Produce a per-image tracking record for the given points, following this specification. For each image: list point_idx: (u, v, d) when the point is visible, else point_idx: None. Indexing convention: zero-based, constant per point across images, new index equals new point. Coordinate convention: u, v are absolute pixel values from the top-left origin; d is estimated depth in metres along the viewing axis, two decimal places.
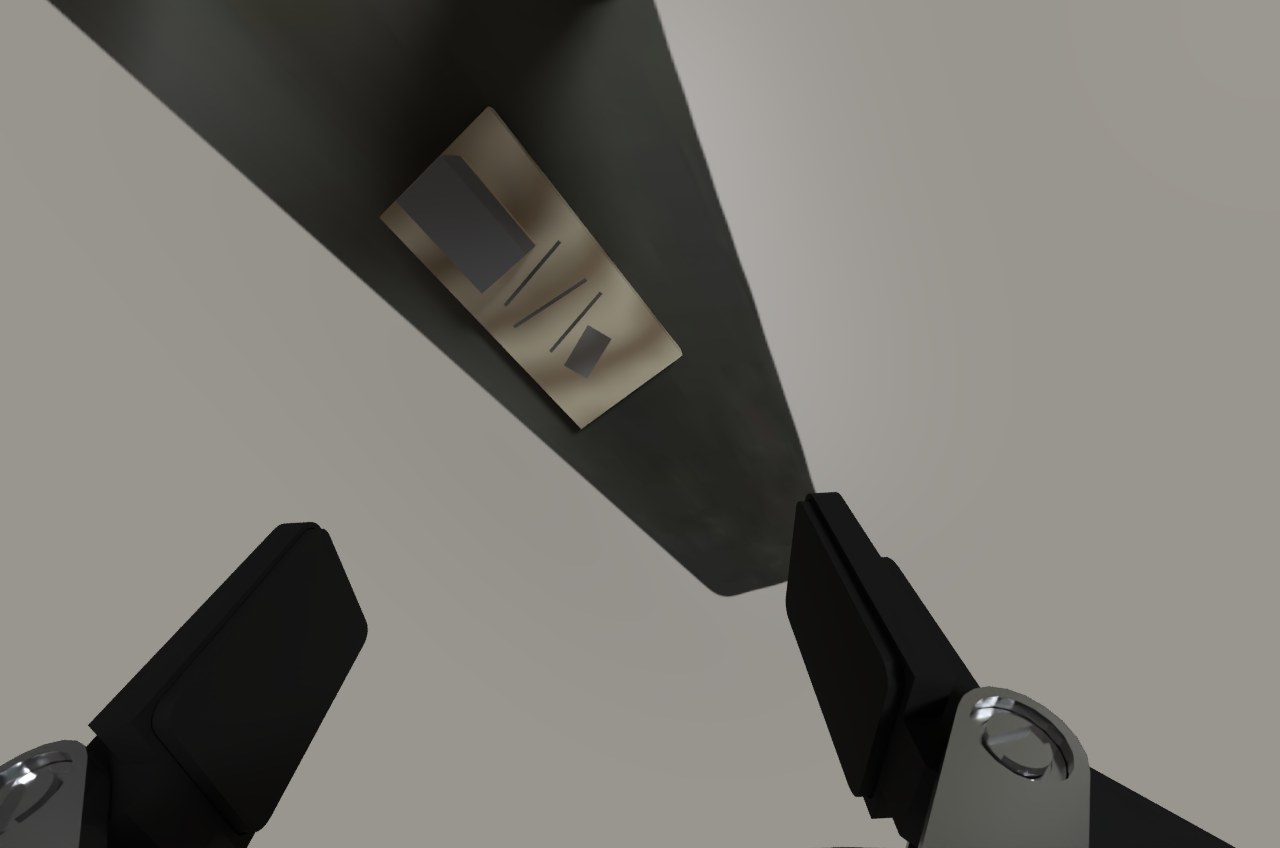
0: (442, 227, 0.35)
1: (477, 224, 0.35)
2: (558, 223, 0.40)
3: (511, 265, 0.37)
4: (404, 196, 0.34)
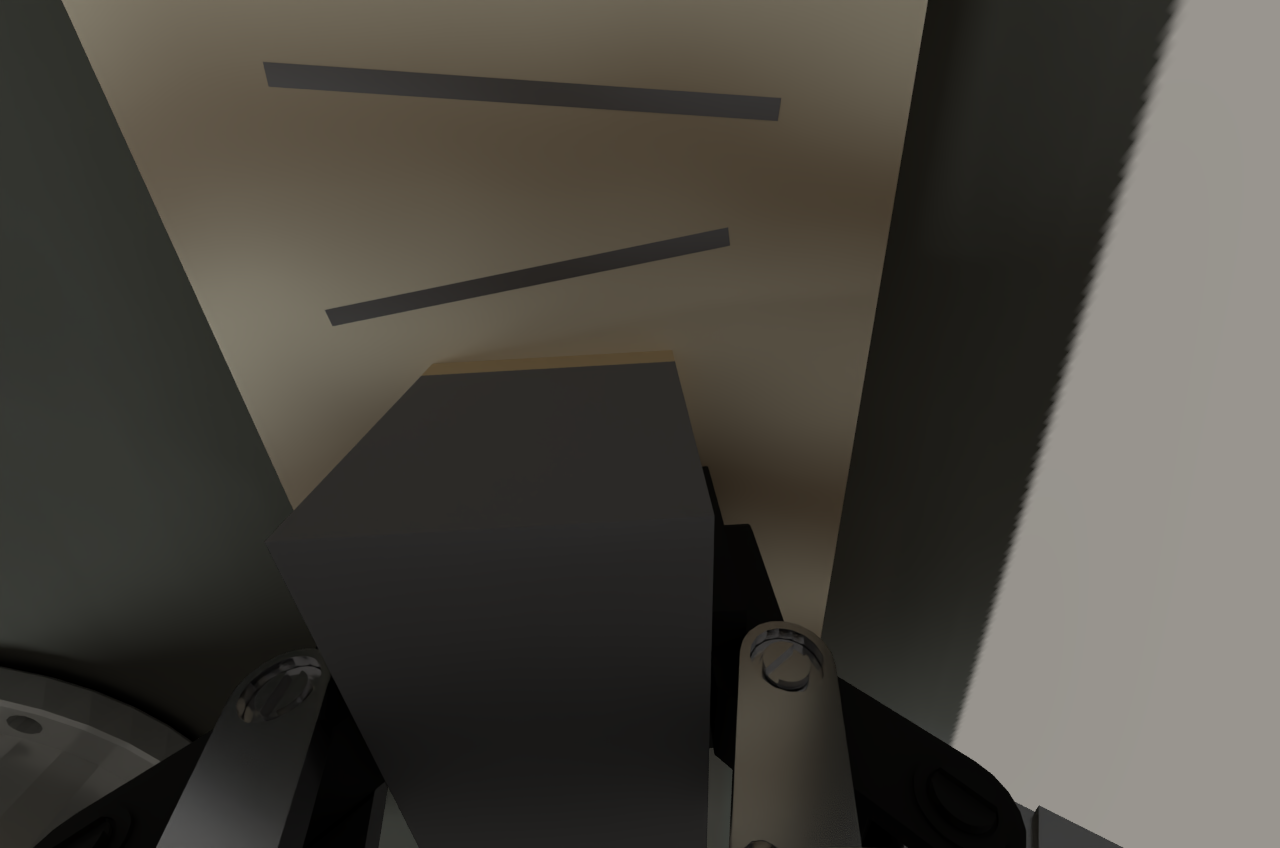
0: (625, 793, 0.07)
1: (460, 744, 0.07)
2: (306, 376, 0.10)
3: (401, 542, 0.05)
4: None
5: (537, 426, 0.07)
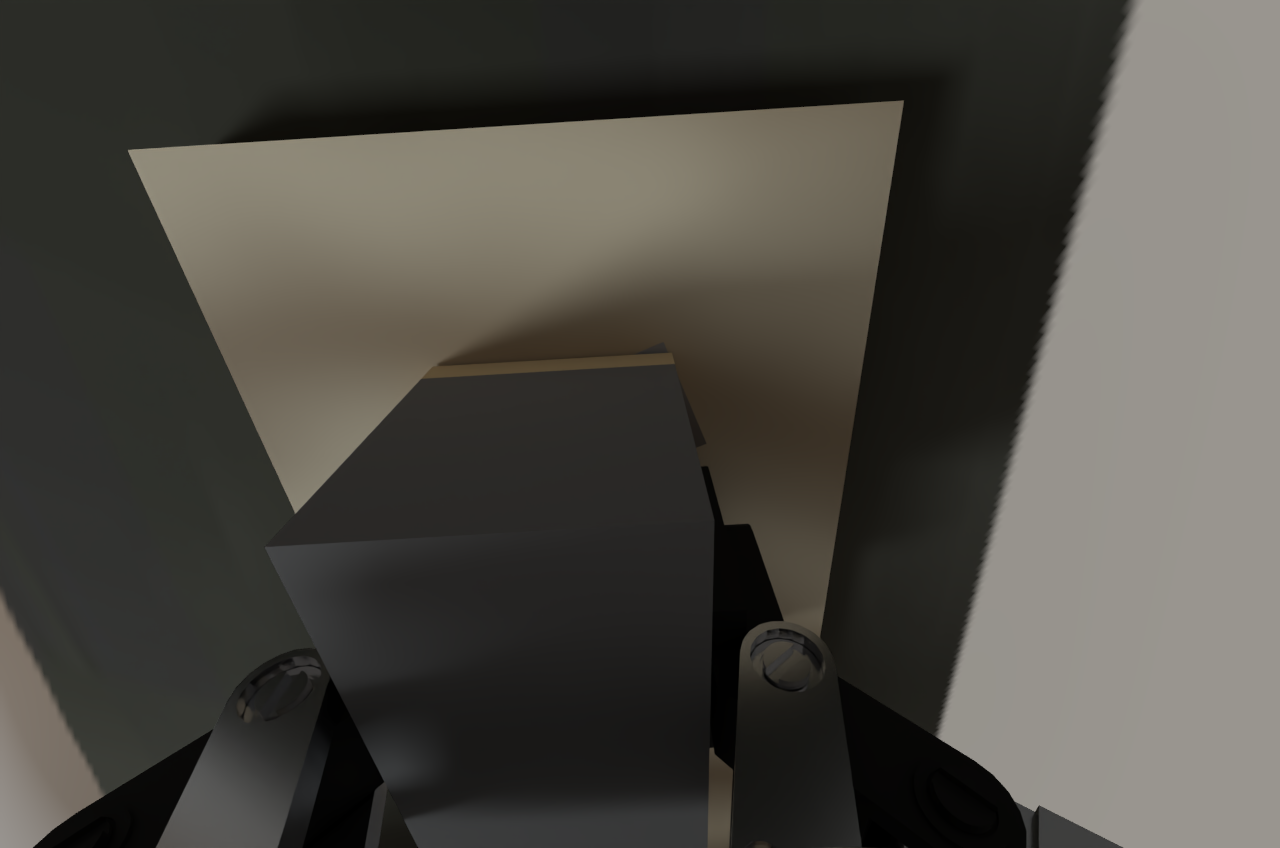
0: (625, 796, 0.07)
1: (460, 748, 0.07)
2: None
3: (401, 547, 0.05)
4: None
5: (538, 430, 0.07)
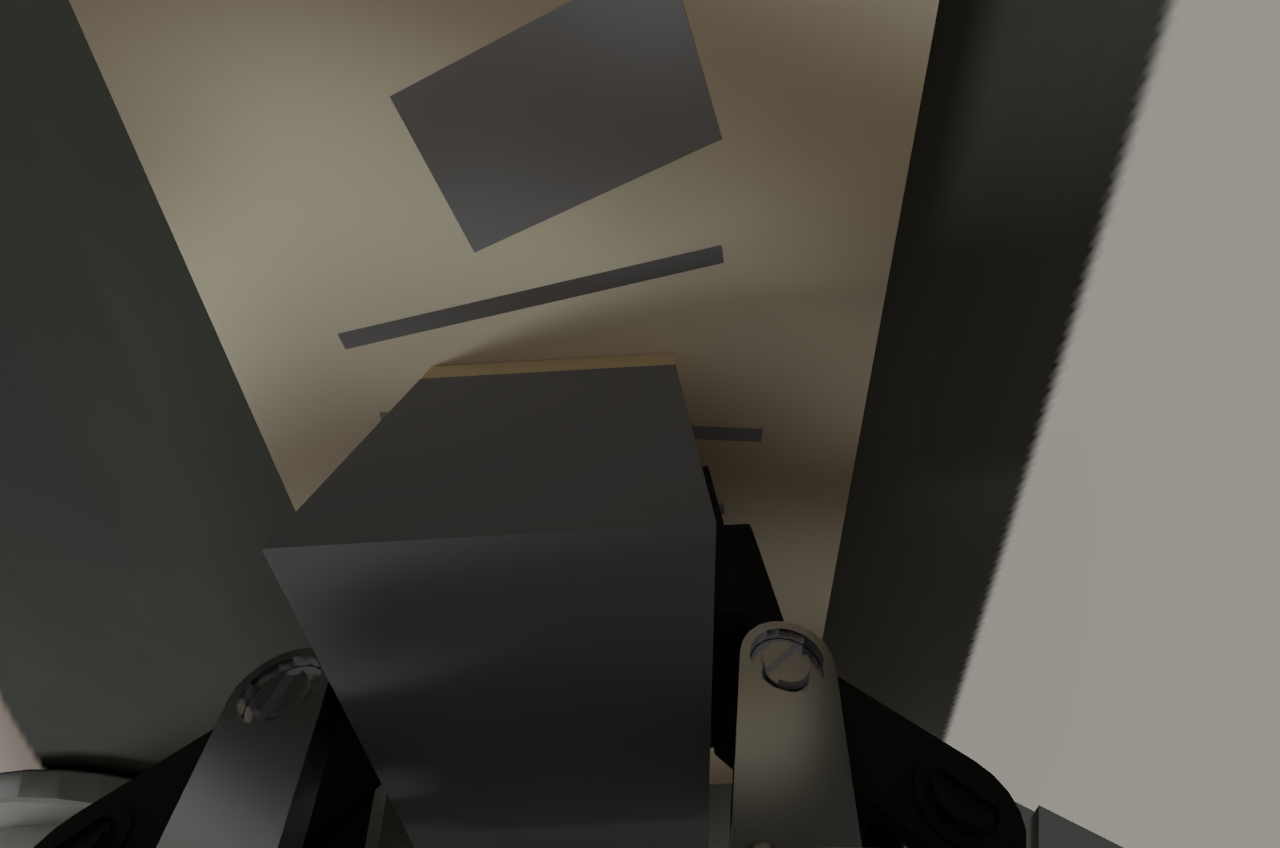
0: (625, 799, 0.07)
1: (460, 751, 0.07)
2: None
3: (399, 549, 0.05)
4: None
5: (538, 431, 0.07)
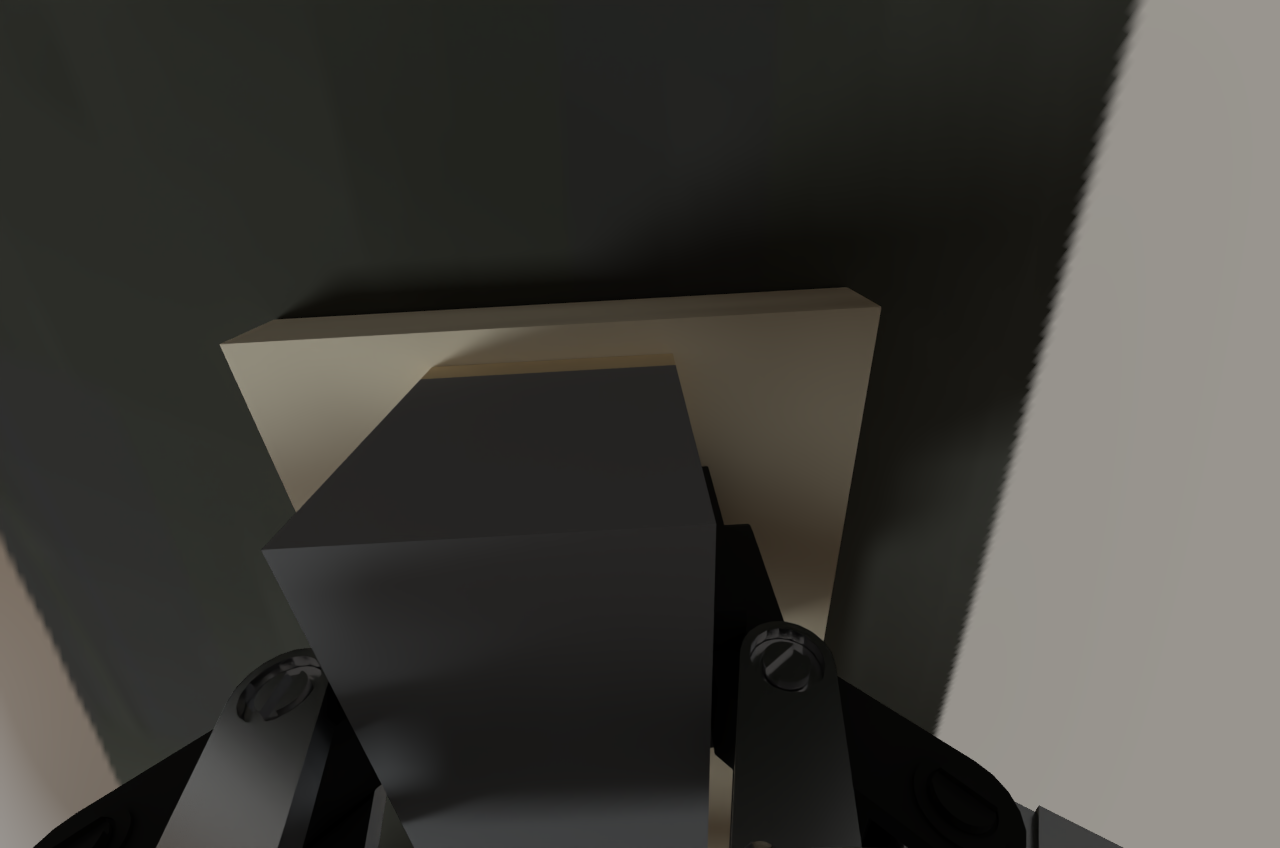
0: (625, 800, 0.07)
1: (460, 752, 0.07)
2: None
3: (399, 550, 0.05)
4: None
5: (538, 432, 0.07)
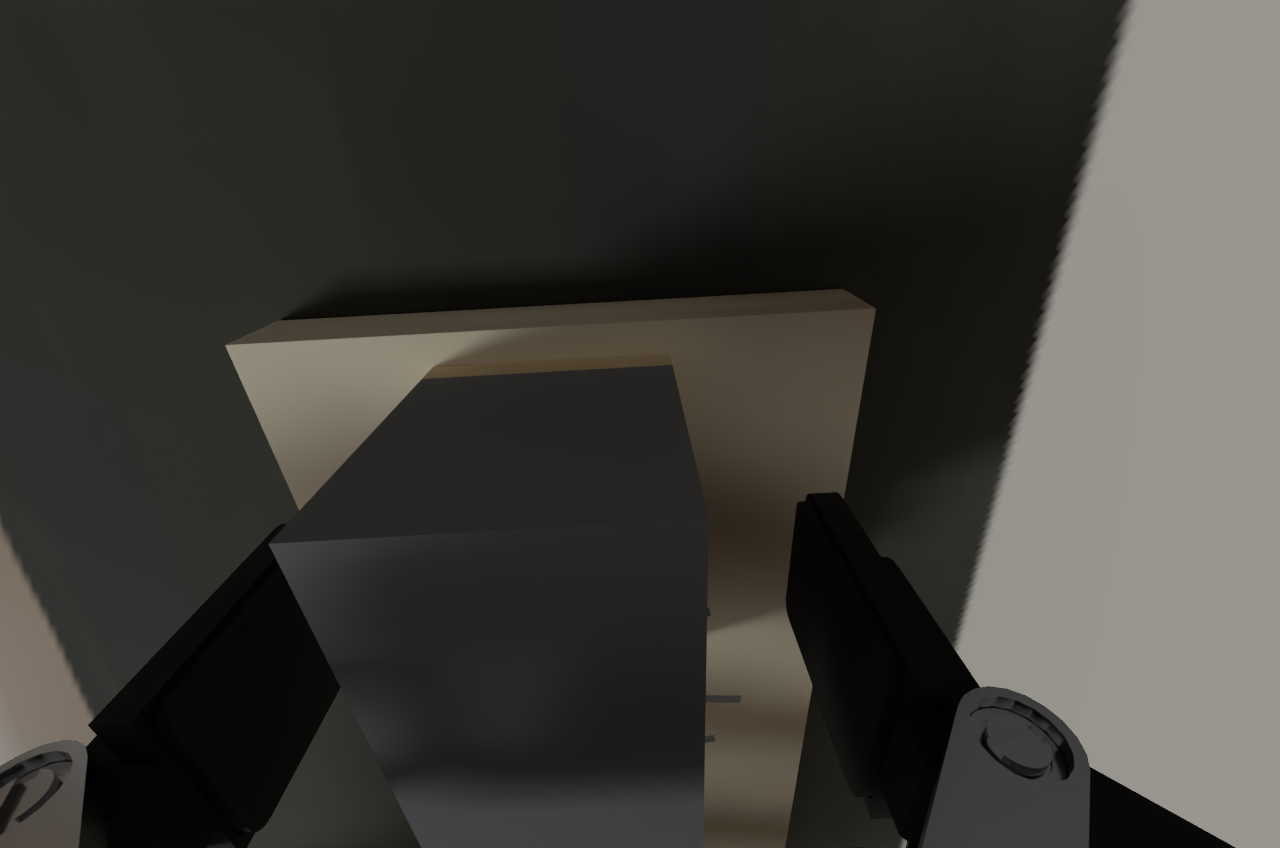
0: (622, 791, 0.07)
1: (460, 742, 0.07)
2: None
3: (402, 544, 0.05)
4: None
5: (537, 430, 0.07)
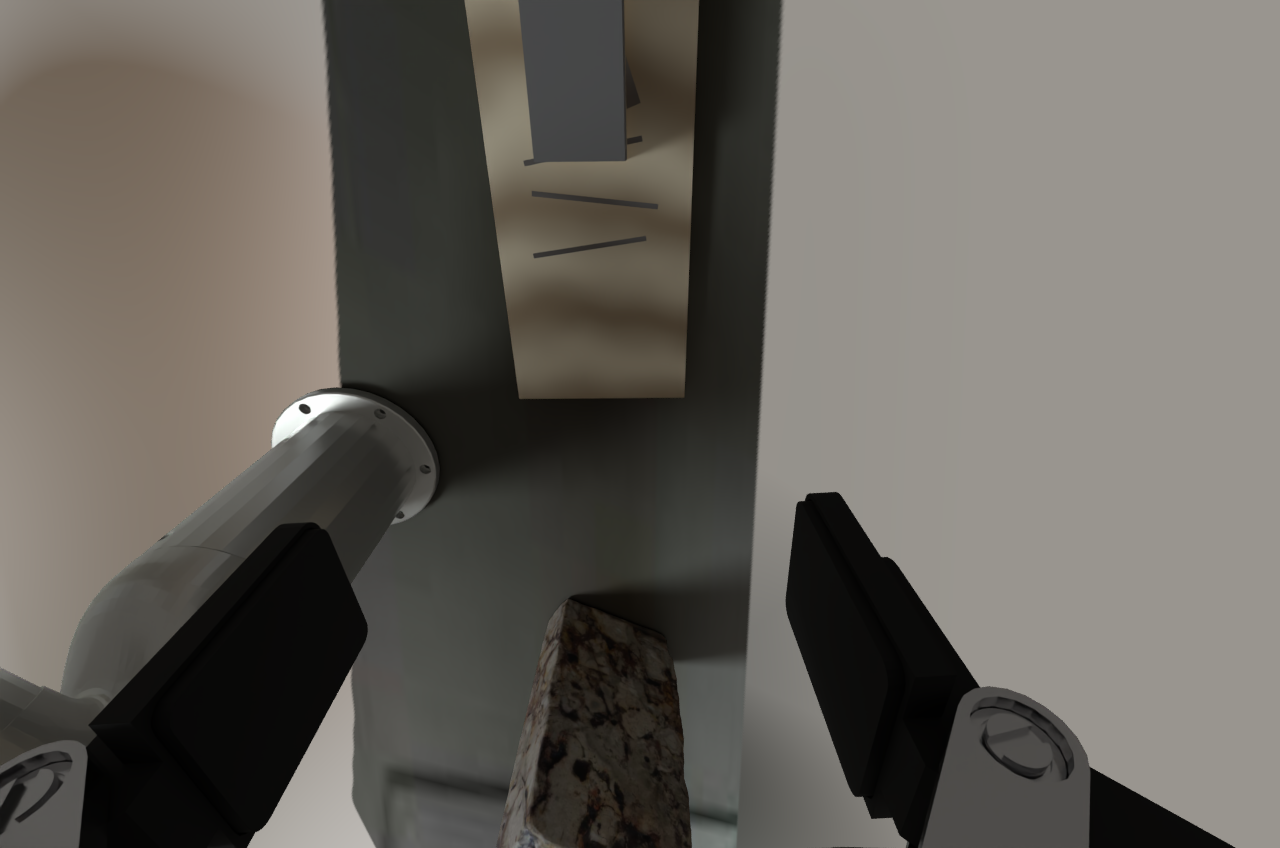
0: (597, 87, 0.23)
1: (549, 50, 0.23)
2: (523, 273, 0.32)
3: None
4: (611, 157, 0.25)
5: None
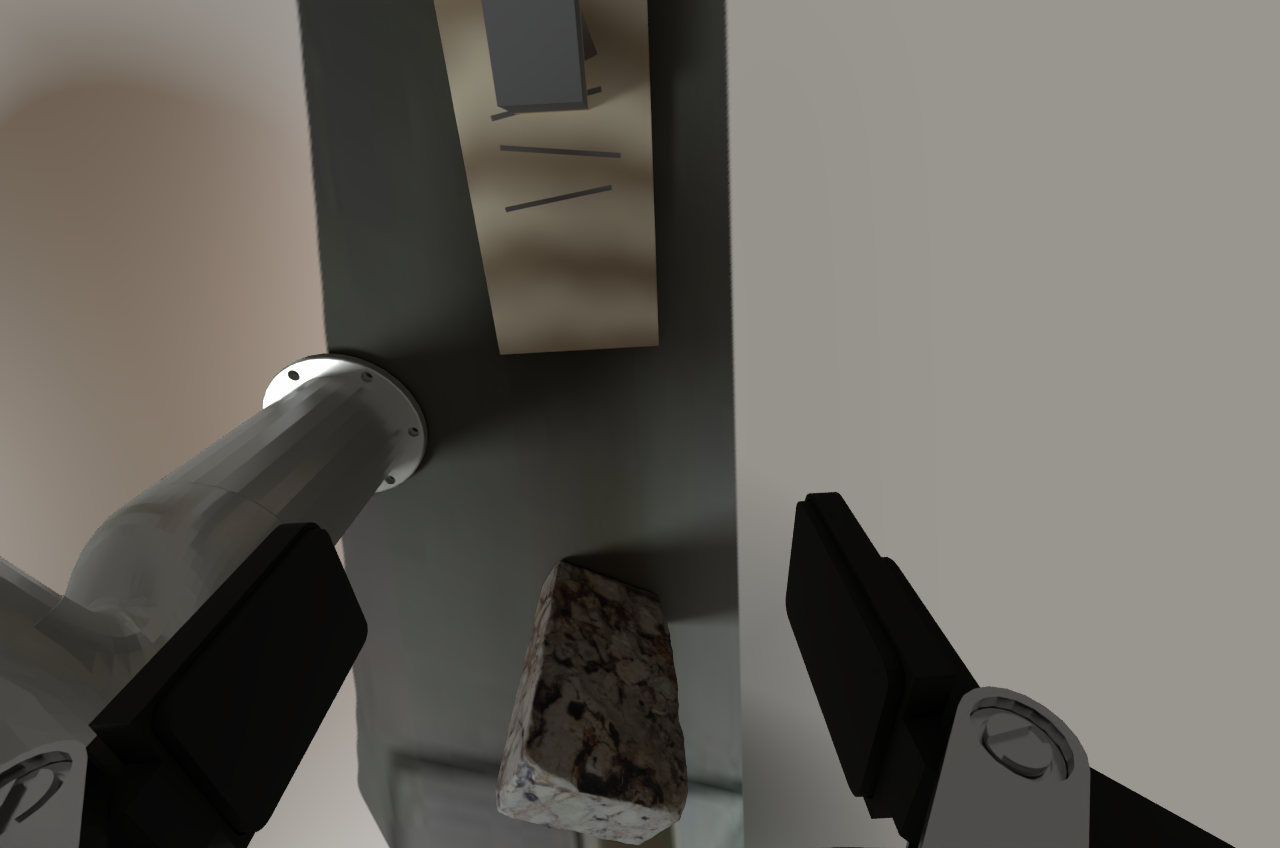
0: (552, 30, 0.25)
1: None
2: (496, 227, 0.34)
3: None
4: (569, 98, 0.27)
5: None
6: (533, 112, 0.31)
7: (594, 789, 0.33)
